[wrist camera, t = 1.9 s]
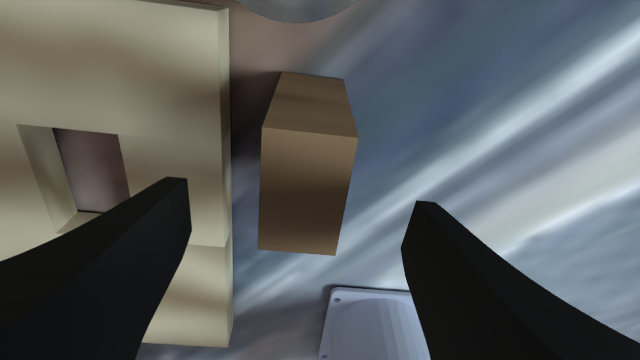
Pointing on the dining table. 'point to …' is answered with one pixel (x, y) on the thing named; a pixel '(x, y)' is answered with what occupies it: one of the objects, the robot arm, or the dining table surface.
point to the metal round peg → (296, 9)
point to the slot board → (124, 132)
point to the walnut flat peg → (305, 165)
